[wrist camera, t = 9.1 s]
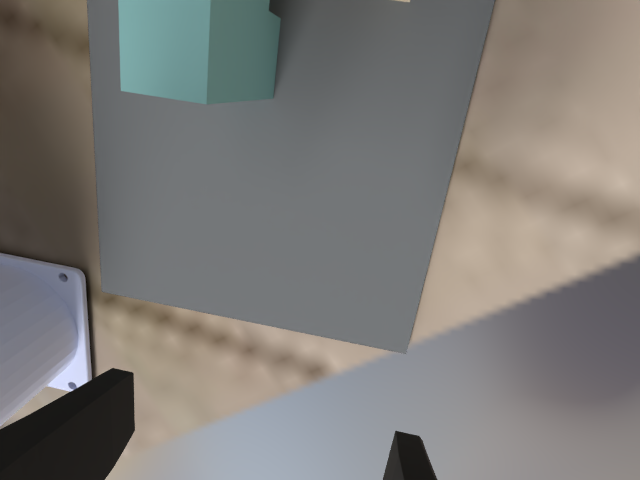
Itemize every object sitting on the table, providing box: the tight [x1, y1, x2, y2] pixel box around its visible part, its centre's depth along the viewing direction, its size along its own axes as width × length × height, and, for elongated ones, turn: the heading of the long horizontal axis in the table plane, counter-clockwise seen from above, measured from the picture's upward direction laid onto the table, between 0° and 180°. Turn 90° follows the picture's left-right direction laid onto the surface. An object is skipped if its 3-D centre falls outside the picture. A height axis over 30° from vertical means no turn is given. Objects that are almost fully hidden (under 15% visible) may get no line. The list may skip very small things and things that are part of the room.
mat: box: [87, 0, 495, 354], centre depth 18 cm, size 16×20×1 cm
